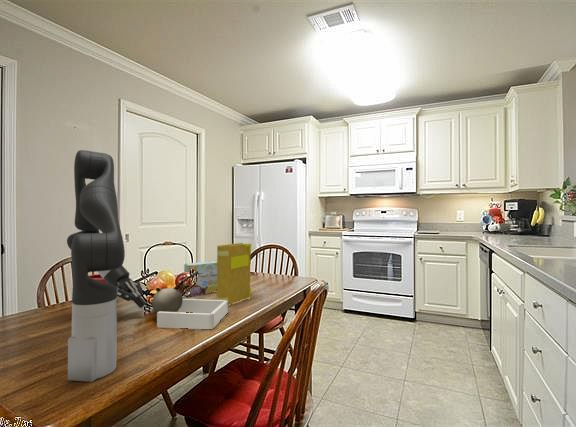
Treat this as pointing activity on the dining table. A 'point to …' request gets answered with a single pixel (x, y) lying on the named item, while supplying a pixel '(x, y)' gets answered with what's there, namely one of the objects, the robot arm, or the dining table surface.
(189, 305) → the box
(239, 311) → the dining table surface
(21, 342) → the dining table surface
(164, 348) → the dining table surface
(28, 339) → the dining table surface
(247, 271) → the book
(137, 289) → the robot arm
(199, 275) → the snack box
